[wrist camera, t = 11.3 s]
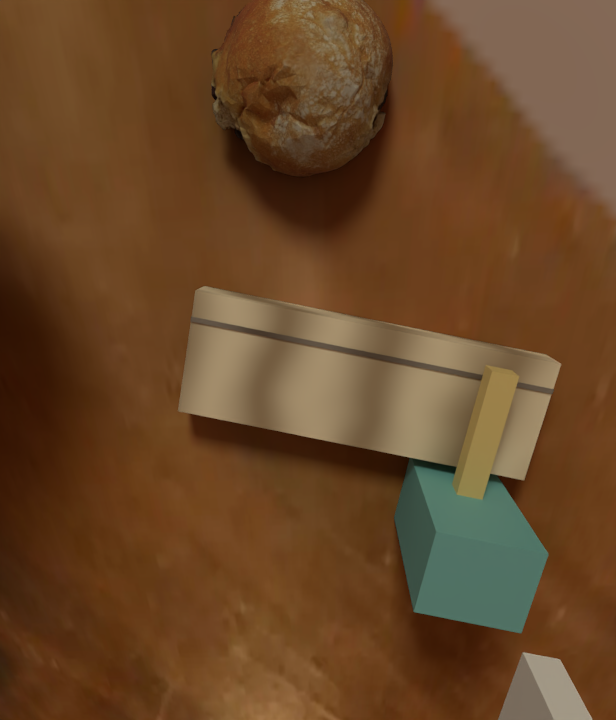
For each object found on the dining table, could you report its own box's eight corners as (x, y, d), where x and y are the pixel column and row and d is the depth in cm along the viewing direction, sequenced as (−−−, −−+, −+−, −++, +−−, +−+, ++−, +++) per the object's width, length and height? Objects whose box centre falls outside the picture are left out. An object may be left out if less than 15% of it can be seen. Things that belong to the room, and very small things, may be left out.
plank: (187, 399, 38) (177, 411, 36) (204, 285, 36) (195, 290, 34) (511, 464, 38) (524, 481, 36) (545, 354, 36) (561, 364, 34)
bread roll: (341, 188, 38) (403, 189, 31) (193, 161, 34) (226, 155, 27) (366, 30, 36) (439, -8, 29) (210, -21, 31) (251, -80, 24)
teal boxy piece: (394, 517, 40) (413, 611, 30) (438, 345, 37) (476, 388, 27) (475, 533, 40) (521, 633, 30) (527, 362, 37) (596, 412, 27)
